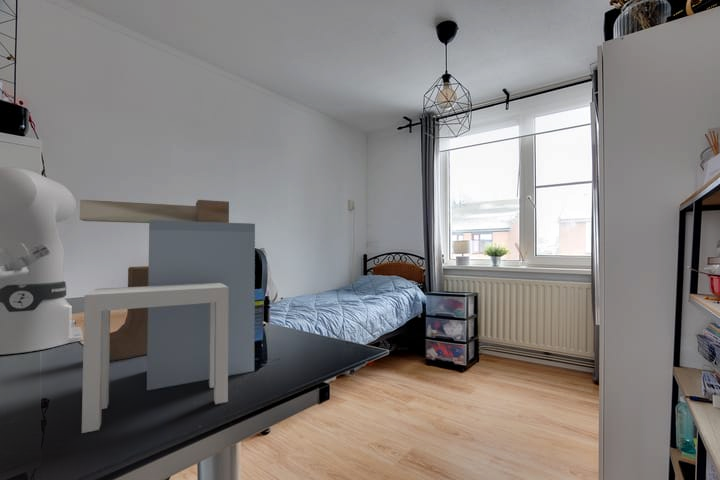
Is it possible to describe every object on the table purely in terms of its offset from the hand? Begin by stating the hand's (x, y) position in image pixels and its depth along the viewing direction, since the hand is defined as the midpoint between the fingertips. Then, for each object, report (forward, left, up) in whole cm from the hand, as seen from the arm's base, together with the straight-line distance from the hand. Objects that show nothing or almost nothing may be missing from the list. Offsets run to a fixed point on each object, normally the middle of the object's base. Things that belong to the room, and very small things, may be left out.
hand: (38, 248), depth 49 cm
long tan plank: (0, +15, +4) cm, 16 cm away
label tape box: (-16, +32, -22) cm, 42 cm away
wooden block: (-18, +10, -22) cm, 30 cm away
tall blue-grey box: (0, +22, -22) cm, 31 cm away
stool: (+11, +16, -22) cm, 29 cm away
